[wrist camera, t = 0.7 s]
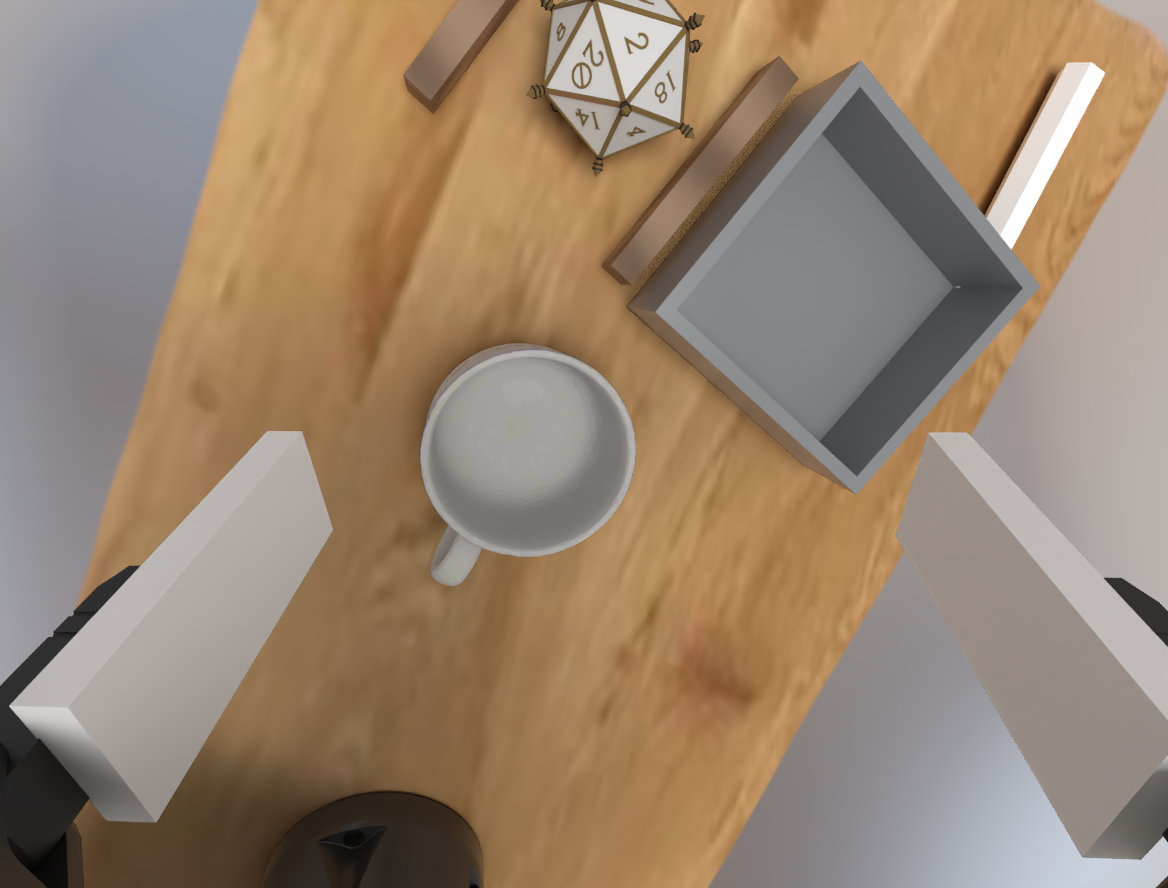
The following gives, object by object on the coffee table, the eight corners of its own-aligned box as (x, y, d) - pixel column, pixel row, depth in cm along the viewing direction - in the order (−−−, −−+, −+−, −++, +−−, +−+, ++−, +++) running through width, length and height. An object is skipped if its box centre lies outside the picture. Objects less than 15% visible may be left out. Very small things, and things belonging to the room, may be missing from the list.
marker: (928, 318, 41) (1053, 77, 38) (960, 330, 41) (1089, 87, 38) (939, 313, 39) (1073, 55, 36) (973, 325, 38) (1112, 65, 35)
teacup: (517, 296, 36) (530, 301, 28) (639, 421, 39) (681, 455, 31) (354, 464, 36) (324, 513, 29) (487, 572, 40) (492, 642, 32)
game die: (595, 144, 38) (604, 238, 32) (496, 22, 32) (483, 105, 26) (724, 38, 33) (763, 122, 27) (633, -123, 28) (656, -64, 22)
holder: (621, 284, 36) (632, 284, 34) (407, 90, 32) (403, 75, 30) (776, 92, 35) (798, 79, 33) (577, -138, 31) (587, -173, 28)
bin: (803, 465, 42) (856, 494, 36) (626, 306, 37) (655, 311, 31) (959, 285, 41) (1040, 286, 35) (798, 95, 36) (861, 60, 30)
